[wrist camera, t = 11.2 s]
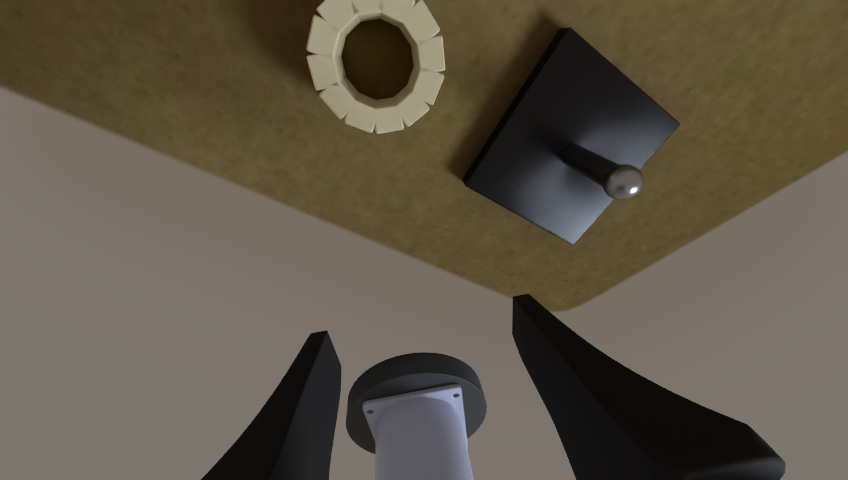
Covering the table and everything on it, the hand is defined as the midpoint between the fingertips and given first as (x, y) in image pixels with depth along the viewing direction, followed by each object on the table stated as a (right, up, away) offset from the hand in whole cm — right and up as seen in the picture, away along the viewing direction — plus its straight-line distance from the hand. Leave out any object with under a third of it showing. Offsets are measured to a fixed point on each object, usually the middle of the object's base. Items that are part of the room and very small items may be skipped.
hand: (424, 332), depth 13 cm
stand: (+8, +9, +7) cm, 14 cm away
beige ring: (-2, +12, +3) cm, 13 cm away
